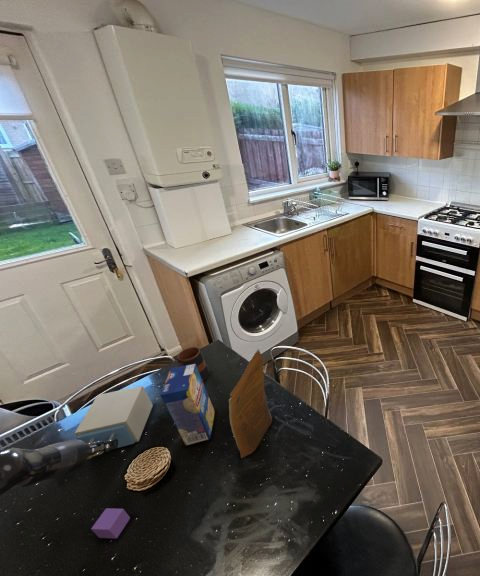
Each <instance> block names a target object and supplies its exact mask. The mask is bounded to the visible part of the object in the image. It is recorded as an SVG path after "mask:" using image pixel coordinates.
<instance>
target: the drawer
mask: <svg viewBox="0 0 480 576" xmlns="http://www.w3.org/2000/svg"><path fill="white" fill-rule="evenodd" d="M76 439H78V440H82V441H84V442H85V443H94V442H98V441H103V442H105V441H107V440H114V439H118V448H117V449H119V448H122V447H127V446H130V445H134V444H135V443H136V442H135V439H134V438H133V436H132V435H131V433H130V431H129V430H128V428H127V427H126V425H125V424H120V425H116V426H112V427H108V428H103V429H99V430H95V431H90V432H86V433H84V434H79V435H78V436H76ZM134 442H135V443H134ZM94 445H96V444H94ZM103 445H104V444H103ZM91 446H92V445H91Z"/></svg>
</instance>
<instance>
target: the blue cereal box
mask: <svg viewBox="0 0 480 576" xmlns="http://www.w3.org/2000/svg"><path fill="white" fill-rule="evenodd" d="M175 367H176V366H175ZM175 367H172V368H171V367H170V369H169V371H168V374H167V376H166V379H165V382H164V384H163V387H162V389H161V392H160V394H159V396H160V398H161V400H162V401H163V404H164V405H165V407H166V409H167V412H168V413H169V415H170V417H171V419H172V421H173V424H174V425H175V428H176V430H177V431H178V433H179V436H180V437H181V439H182V441H183V443H184V445H185V446H189V445H193V444H196V443H200V442H204V441H208V440H211V436H212V431H213V425H214V419H215V412H216V411H215V408H214V406H213V403H212V401H211V399H210V397H209V393H208V391H207V389H206V388H207V387H206V386H205V383H204V380H203V381H202V378H201V376H200V373H199V371H198V368H197V366H196V363H195V364H190V365H185V366H181V367H176V368H175Z"/></svg>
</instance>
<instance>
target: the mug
mask: <svg viewBox="0 0 480 576" xmlns="http://www.w3.org/2000/svg"><path fill="white" fill-rule="evenodd" d="M176 360H177V363H178V364H177V365H175V366H174V368H176V367H181V366H185V365H190V364H195V363H196V366H197V368H198V371H199V373H200V376H201V378H202V381H203V382H204V380H206V379H207V378H208V377H209V374H210V368H209V365H208V364H207V362H206V361H205V357H204V354H203V351H202V350H201V348H199V347H198V346H191V347H187V348H184V349H182V350H181V351H180V352H179V353H177V356H176Z"/></svg>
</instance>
